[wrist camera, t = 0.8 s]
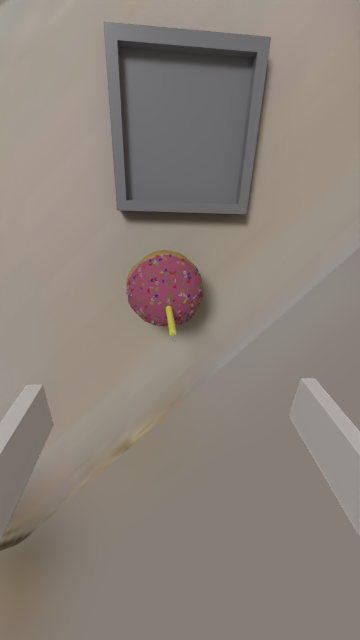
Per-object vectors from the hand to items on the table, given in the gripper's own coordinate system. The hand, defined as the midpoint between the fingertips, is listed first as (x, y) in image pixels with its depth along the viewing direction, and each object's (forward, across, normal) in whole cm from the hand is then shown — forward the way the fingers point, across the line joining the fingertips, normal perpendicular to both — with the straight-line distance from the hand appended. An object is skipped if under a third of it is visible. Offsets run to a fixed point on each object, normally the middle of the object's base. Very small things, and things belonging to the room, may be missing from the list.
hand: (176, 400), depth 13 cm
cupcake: (+22, 0, 0) cm, 22 cm away
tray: (+21, +2, +15) cm, 26 cm away
